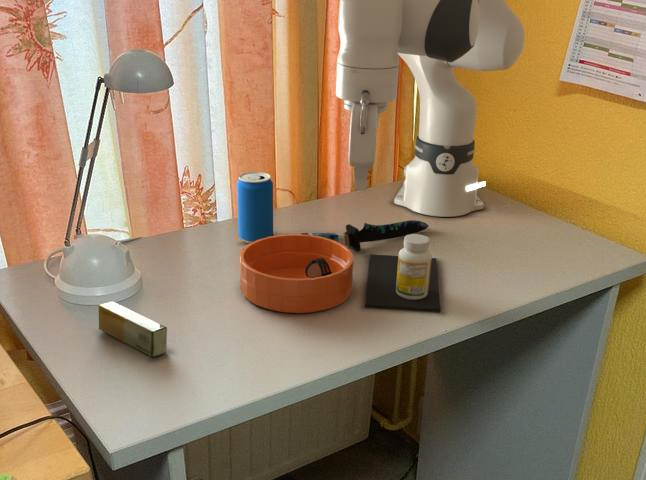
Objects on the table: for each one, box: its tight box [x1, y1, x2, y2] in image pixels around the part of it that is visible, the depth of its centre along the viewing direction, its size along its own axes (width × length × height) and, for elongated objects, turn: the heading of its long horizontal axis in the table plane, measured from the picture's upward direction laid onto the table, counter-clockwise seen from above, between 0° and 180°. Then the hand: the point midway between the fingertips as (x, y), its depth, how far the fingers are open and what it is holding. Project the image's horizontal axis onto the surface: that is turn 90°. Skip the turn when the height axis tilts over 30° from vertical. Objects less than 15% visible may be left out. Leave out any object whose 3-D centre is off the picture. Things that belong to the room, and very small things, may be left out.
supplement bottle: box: [396, 233, 433, 300], centre depth 128 cm, size 5×5×10 cm
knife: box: [300, 219, 429, 253], centre depth 147 cm, size 31×3×4 cm, turn 124°
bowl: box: [239, 233, 355, 314], centre depth 129 cm, size 18×18×6 cm
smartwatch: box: [305, 258, 332, 278], centre depth 129 cm, size 4×5×5 cm
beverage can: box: [236, 171, 274, 244], centre depth 145 cm, size 6×6×12 cm
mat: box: [364, 253, 442, 313], centre depth 135 cm, size 20×12×1 cm, turn 176°
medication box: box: [98, 300, 168, 358], centre depth 113 cm, size 12×3×4 cm, turn 53°
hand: (361, 178), depth 120 cm, fingers open, 8 cm apart
